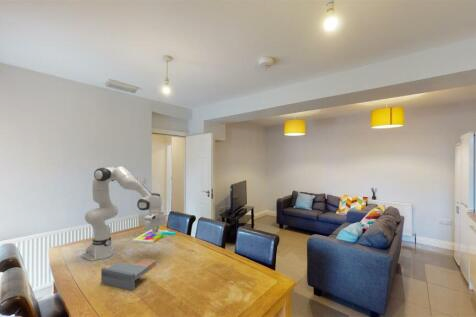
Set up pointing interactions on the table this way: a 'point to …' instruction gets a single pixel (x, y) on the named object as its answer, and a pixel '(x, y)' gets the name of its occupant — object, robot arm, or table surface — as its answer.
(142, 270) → the grey block
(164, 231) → the puzzle game
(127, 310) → the table surface
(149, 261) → the tile
